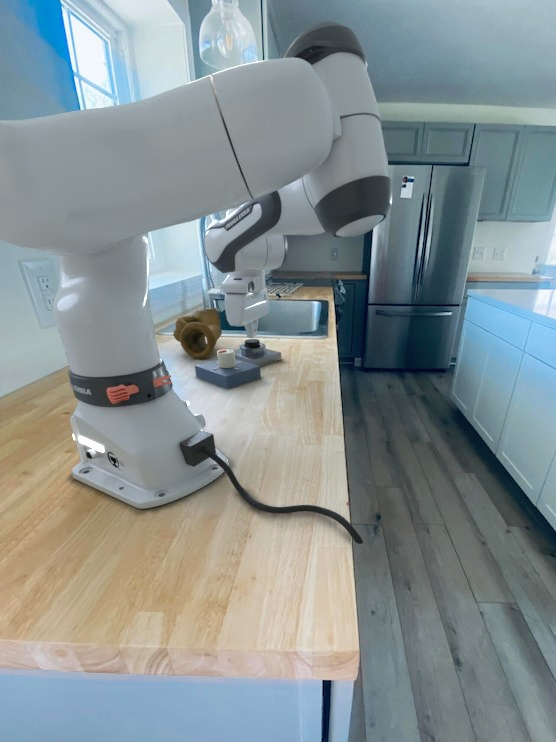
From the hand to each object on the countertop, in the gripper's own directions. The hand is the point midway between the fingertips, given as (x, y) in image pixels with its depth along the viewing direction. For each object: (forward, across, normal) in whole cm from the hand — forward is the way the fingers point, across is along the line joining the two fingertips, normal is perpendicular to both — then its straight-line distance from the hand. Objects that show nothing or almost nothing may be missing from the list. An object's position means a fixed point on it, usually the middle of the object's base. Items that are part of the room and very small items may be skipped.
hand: (252, 336), depth 99 cm
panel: (+6, +16, 0) cm, 17 cm away
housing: (+6, 0, 0) cm, 6 cm away
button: (+3, 0, 0) cm, 3 cm away
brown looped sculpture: (+7, -7, -20) cm, 22 cm away
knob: (+3, +16, 0) cm, 16 cm away
